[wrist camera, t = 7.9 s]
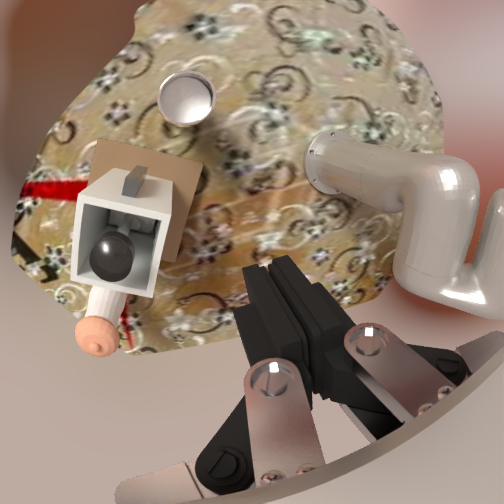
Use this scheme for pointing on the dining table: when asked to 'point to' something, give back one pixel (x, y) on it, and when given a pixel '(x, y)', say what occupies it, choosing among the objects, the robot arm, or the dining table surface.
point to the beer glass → (186, 98)
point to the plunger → (117, 246)
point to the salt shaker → (101, 322)
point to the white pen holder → (134, 210)
